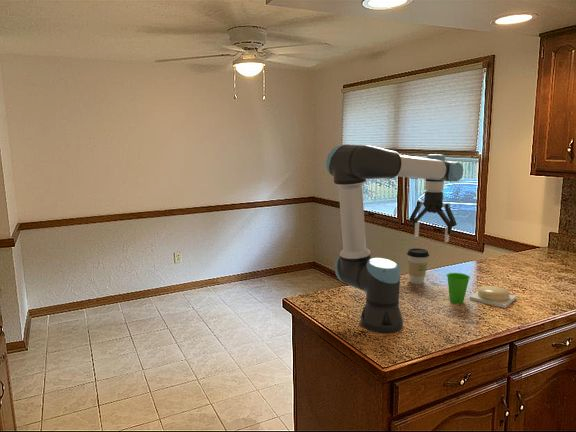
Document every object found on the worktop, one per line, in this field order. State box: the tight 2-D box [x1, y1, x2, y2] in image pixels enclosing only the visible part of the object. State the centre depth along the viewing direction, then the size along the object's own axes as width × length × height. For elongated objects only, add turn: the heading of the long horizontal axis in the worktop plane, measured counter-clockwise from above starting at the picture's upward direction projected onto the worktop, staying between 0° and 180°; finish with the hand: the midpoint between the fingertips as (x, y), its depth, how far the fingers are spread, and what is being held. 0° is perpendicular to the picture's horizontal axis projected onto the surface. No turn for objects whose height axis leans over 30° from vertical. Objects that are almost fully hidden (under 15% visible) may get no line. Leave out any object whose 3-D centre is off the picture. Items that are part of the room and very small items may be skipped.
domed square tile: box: [469, 285, 517, 309], centre depth 185 cm, size 14×14×4 cm
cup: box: [446, 272, 471, 305], centre depth 182 cm, size 9×9×11 cm
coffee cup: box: [406, 248, 430, 285], centre depth 207 cm, size 10×10×15 cm
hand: (431, 239), depth 193 cm, fingers open, 13 cm apart
